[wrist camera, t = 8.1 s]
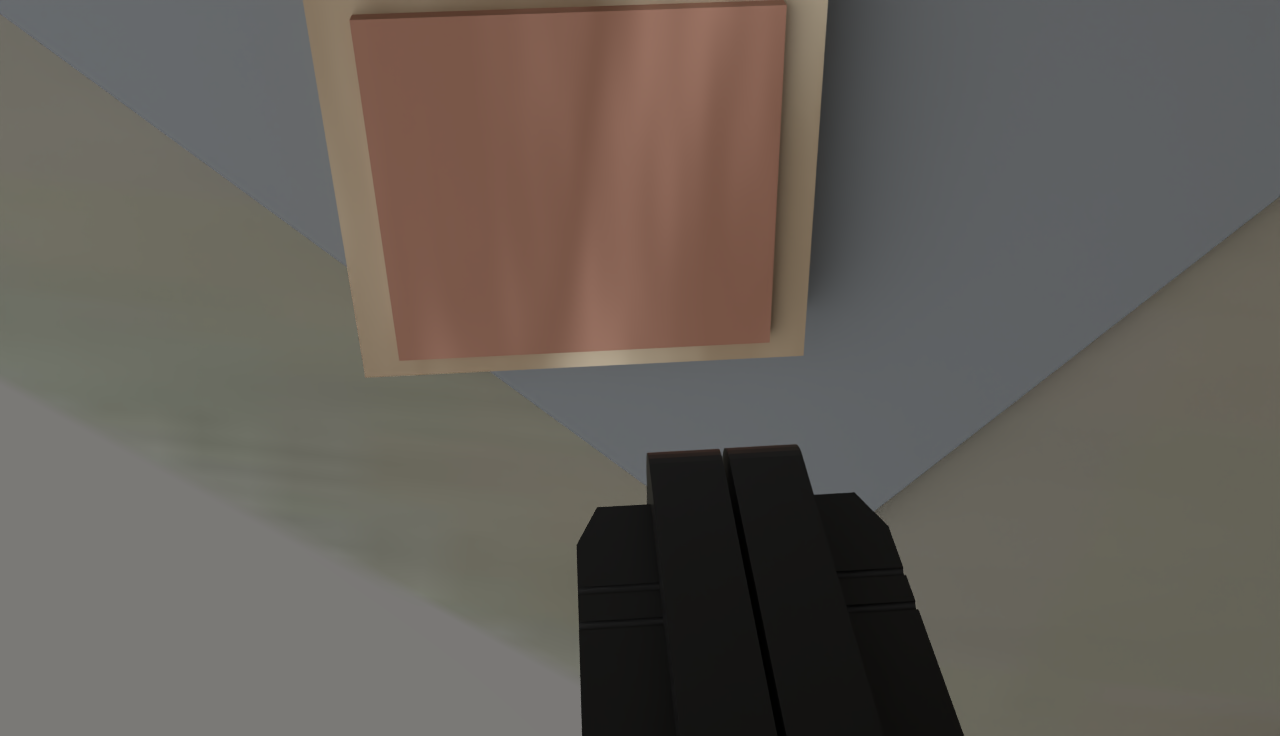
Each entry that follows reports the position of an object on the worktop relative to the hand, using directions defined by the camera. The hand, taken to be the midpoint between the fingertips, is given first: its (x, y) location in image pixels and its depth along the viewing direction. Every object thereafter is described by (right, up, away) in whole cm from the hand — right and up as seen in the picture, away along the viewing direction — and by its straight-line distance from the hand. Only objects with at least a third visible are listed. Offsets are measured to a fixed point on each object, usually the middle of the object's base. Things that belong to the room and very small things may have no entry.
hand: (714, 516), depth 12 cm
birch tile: (+2, +5, +9) cm, 10 cm away
